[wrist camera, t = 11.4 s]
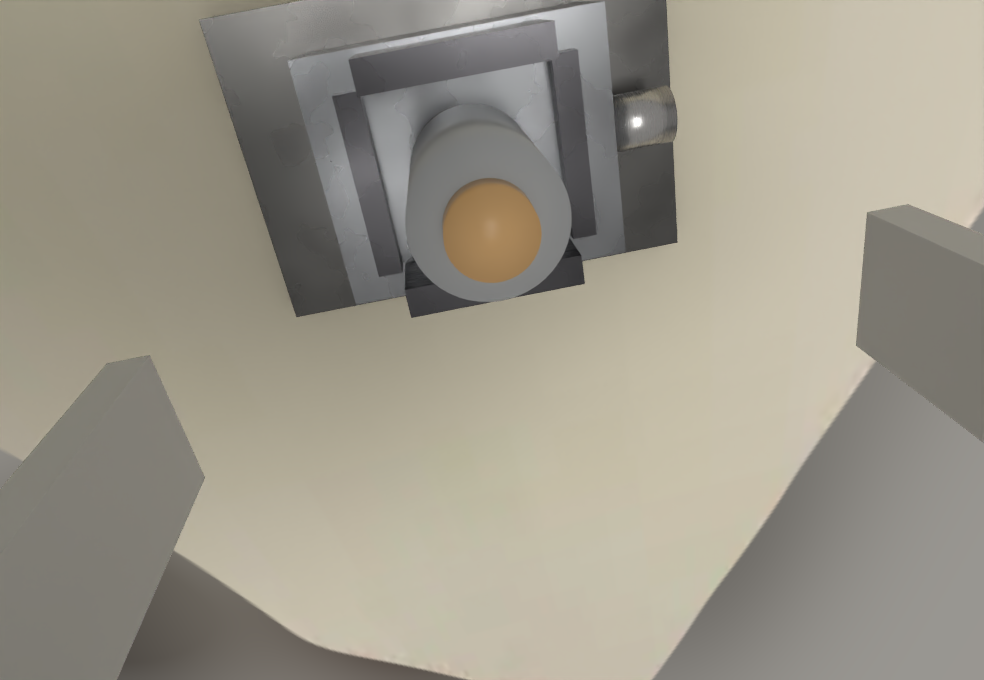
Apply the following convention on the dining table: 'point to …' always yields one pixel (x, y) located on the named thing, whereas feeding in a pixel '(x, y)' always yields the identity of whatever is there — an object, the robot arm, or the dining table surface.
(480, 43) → the stepped square mount
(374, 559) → the dining table surface
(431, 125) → the grey cylinder with ball
